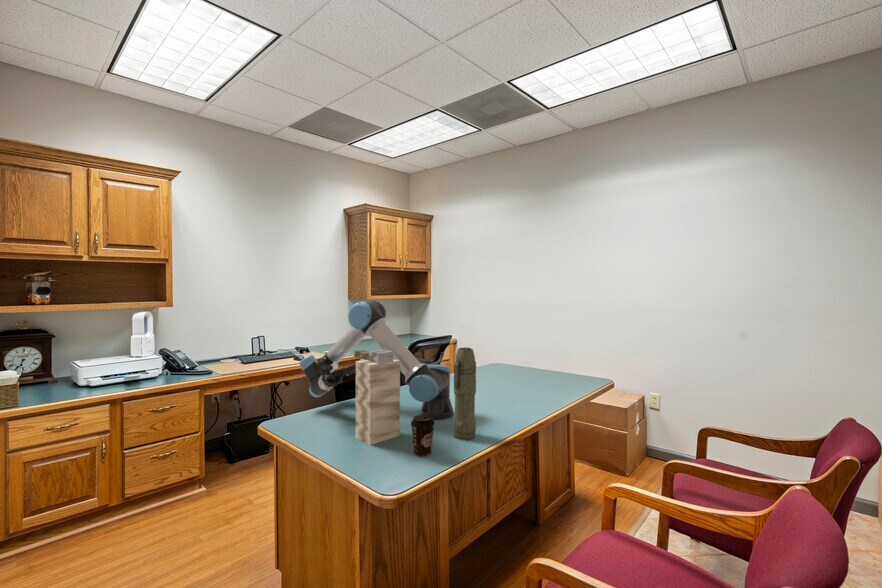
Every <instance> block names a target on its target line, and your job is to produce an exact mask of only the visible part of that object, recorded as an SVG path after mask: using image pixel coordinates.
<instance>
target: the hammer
mask: <svg viewBox="0 0 882 588" xmlns="http://www.w3.org/2000/svg"><path fill="white" fill-rule="evenodd" d="M353 353H354V354H353V356H354V358H356V359H360V360H361V359H365V360H369V362H372V363H376V364H381V363H387V362H393V351H388V350H382V349H378V350H372V351H371V350H370V351H369V350H364V349H359V350H354V351H353Z"/></svg>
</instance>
